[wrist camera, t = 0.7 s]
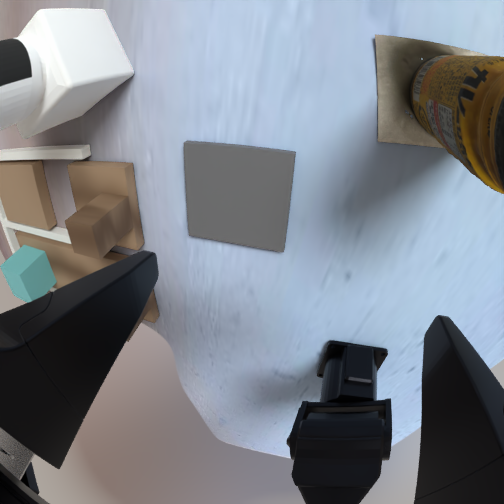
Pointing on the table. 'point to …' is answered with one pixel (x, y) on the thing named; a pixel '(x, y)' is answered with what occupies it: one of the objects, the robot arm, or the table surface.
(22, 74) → the medicine bottle
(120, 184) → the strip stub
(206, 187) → the coaster
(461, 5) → the table surface
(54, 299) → the robot arm
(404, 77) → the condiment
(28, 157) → the board
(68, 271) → the strip
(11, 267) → the cube
